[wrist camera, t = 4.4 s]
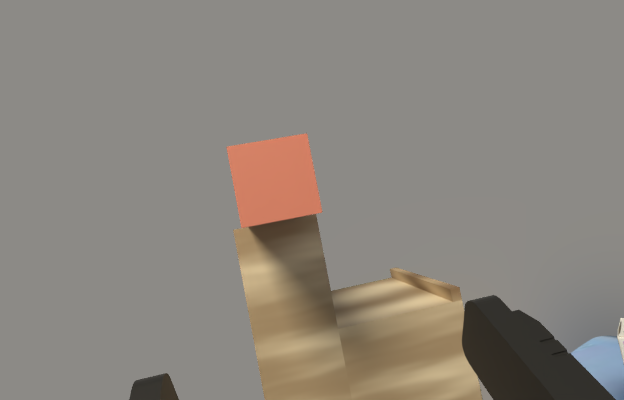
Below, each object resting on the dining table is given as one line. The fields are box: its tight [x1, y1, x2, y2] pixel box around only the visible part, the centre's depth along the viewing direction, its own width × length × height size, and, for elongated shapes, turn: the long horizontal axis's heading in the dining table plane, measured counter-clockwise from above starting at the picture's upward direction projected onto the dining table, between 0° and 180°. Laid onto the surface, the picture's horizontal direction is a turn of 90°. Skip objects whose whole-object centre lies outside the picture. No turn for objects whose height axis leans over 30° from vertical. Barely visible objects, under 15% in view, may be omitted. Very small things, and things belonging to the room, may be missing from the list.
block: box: [227, 134, 322, 228], centre depth 27 cm, size 23×4×4 cm, turn 7°
